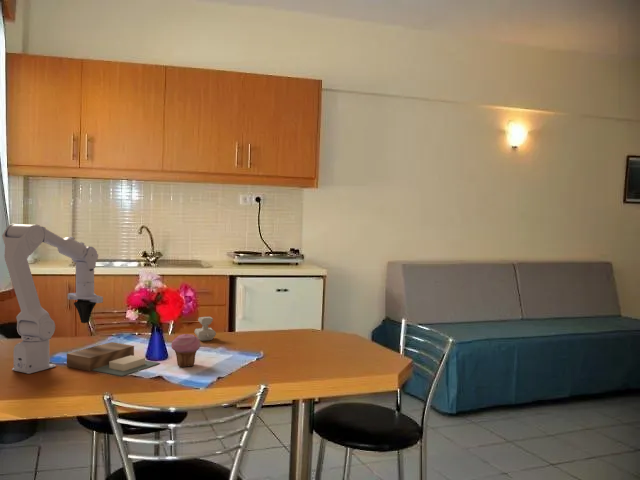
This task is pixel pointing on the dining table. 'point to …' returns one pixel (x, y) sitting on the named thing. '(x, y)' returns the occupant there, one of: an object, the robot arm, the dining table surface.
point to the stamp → (205, 329)
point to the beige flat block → (127, 363)
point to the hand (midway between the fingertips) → (85, 322)
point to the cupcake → (185, 349)
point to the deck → (98, 355)
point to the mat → (121, 373)
